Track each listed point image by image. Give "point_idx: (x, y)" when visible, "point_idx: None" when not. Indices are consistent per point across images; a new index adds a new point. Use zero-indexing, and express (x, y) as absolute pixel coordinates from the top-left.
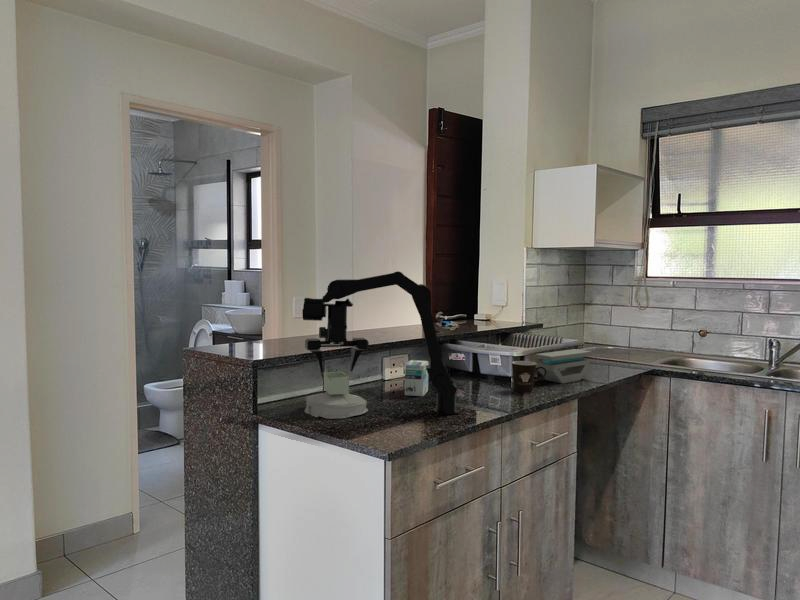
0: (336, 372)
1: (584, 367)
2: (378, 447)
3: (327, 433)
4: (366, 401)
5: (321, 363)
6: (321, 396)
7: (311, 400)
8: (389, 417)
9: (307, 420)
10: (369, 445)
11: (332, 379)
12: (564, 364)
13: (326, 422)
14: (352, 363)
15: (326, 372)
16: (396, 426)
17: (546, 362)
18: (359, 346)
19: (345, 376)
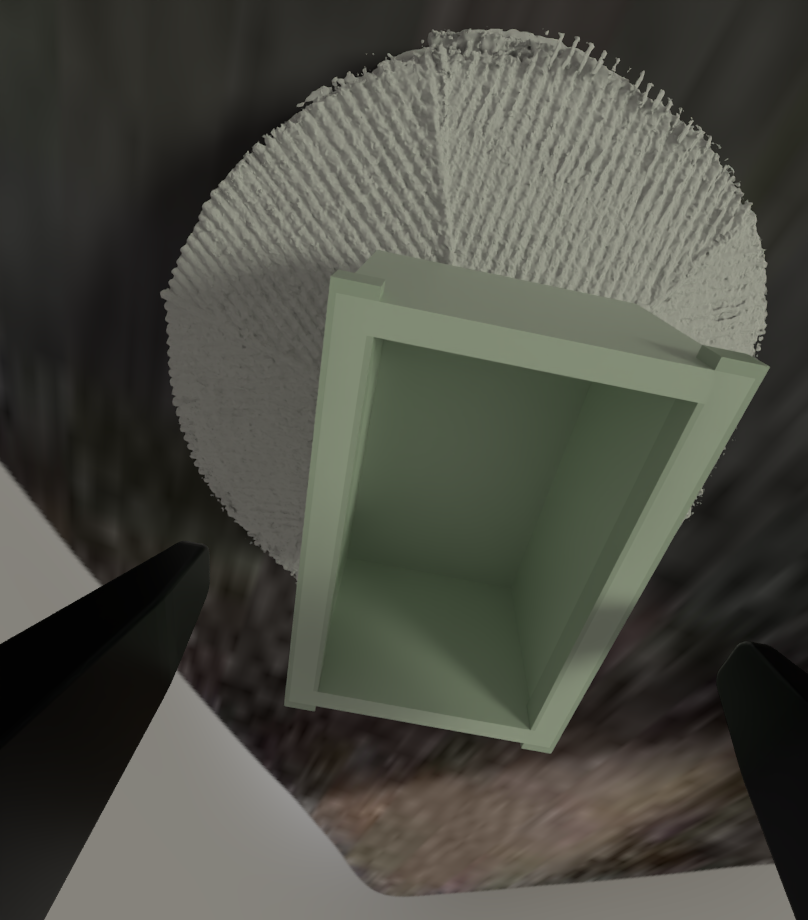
0: (592, 379)
1: None
2: (374, 869)
3: (247, 726)
4: (690, 514)
5: (76, 812)
6: (295, 430)
7: (199, 436)
8: (669, 650)
9: (189, 527)
10: (354, 852)
11: (334, 689)
12: None
13: (289, 599)
14: (789, 893)
15: (387, 316)
16: (584, 760)
17: None
18: None
19: (557, 664)
